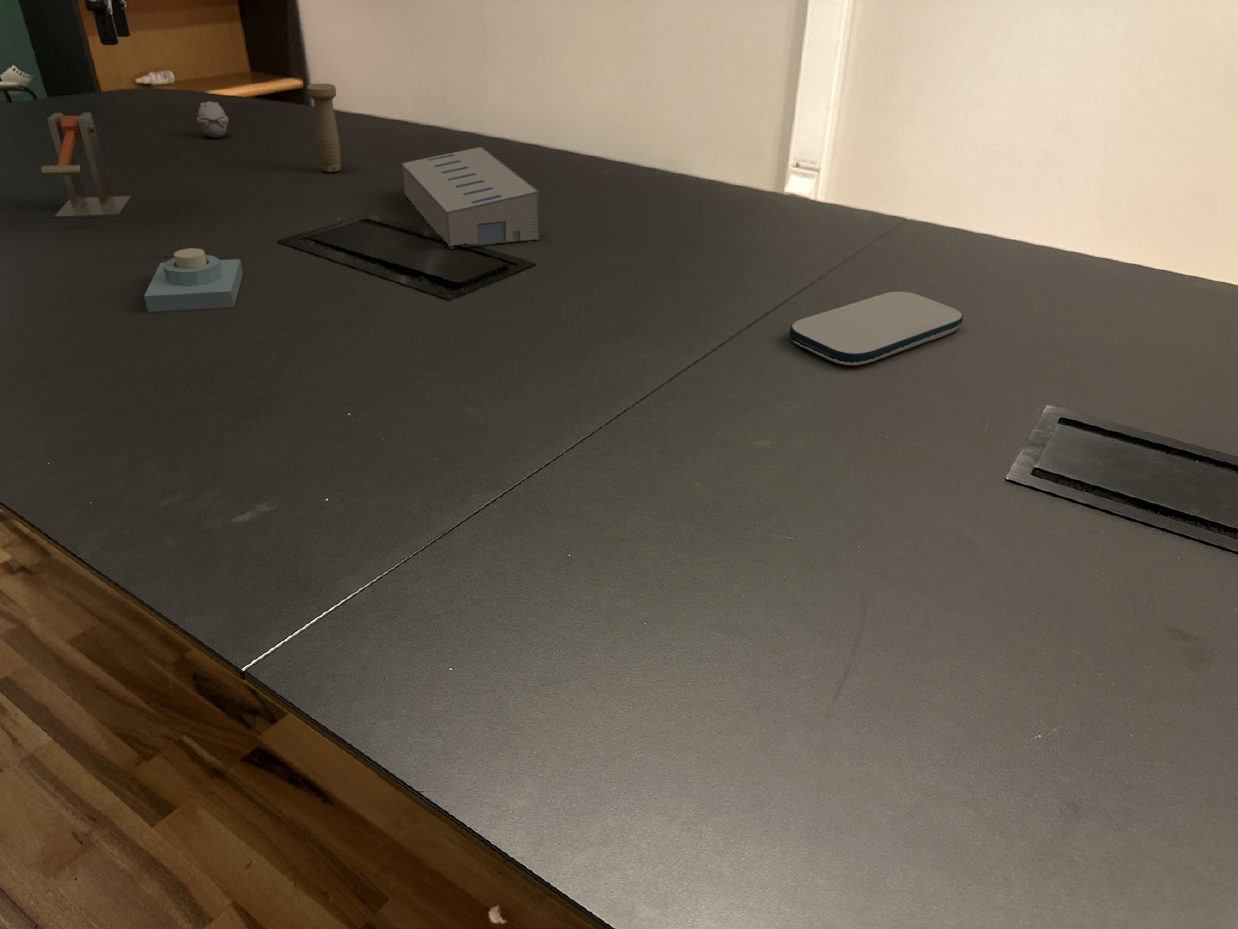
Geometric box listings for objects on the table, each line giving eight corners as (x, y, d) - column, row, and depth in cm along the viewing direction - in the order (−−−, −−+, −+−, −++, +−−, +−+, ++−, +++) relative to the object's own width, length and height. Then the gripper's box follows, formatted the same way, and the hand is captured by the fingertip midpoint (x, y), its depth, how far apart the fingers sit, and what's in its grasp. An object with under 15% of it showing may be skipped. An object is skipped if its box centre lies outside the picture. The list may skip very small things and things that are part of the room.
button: (205, 270, 114) (202, 256, 113) (174, 271, 113) (171, 258, 112) (208, 260, 117) (206, 247, 116) (179, 261, 116) (176, 248, 115)
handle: (320, 176, 166) (308, 90, 159) (317, 167, 172) (306, 83, 164) (347, 175, 168) (336, 89, 160) (343, 166, 173) (333, 83, 165)
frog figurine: (230, 132, 193) (223, 98, 190) (232, 140, 188) (226, 104, 184) (199, 134, 191) (192, 99, 187) (201, 141, 186) (194, 105, 182)
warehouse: (404, 196, 157) (399, 151, 153) (483, 189, 163) (481, 146, 159) (449, 250, 134) (445, 199, 130) (539, 240, 140) (539, 191, 136)
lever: (83, 180, 131) (77, 165, 129) (45, 181, 130) (39, 166, 128) (94, 129, 139) (89, 115, 137) (58, 130, 138) (52, 115, 136)
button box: (234, 307, 113) (227, 277, 111) (148, 312, 111) (140, 281, 109) (243, 274, 123) (237, 245, 121) (164, 278, 121) (157, 249, 119)
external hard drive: (898, 301, 123) (901, 287, 122) (970, 330, 115) (974, 315, 114) (777, 339, 111) (779, 324, 110) (849, 374, 103) (852, 359, 102)
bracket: (120, 221, 141) (94, 122, 133) (56, 223, 138) (26, 122, 131) (132, 203, 149) (109, 108, 141) (72, 205, 147) (45, 109, 139)
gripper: (67, -94, 126) (99, 34, 134) (39, -92, 114) (75, 47, 123) (126, -92, 128) (153, 34, 136) (104, -90, 116) (135, 47, 125)
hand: (116, 40), depth 129 cm, fingers open, 8 cm apart
